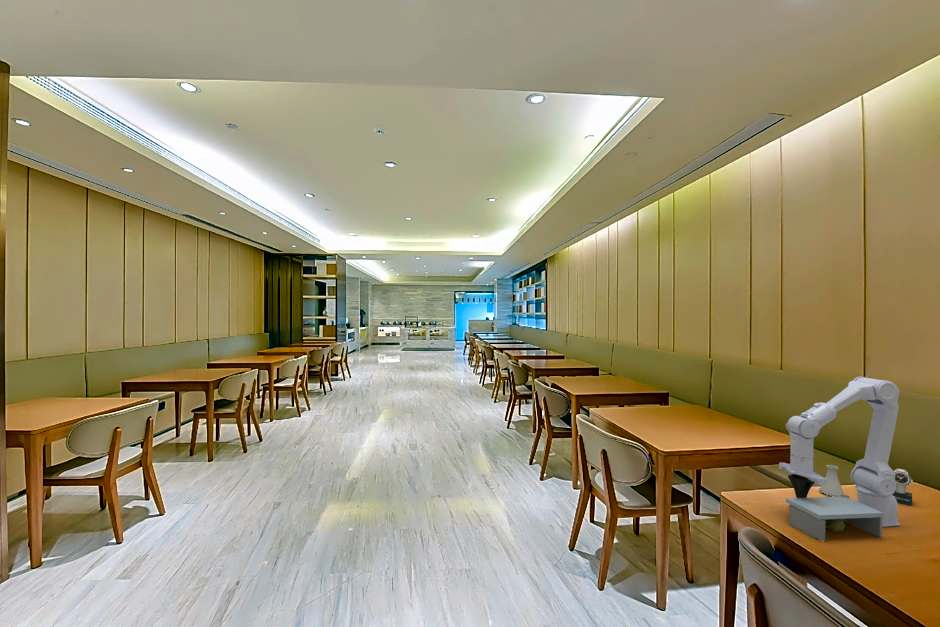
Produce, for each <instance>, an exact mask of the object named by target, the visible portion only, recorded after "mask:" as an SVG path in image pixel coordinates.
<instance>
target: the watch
mask: <svg viewBox="0 0 940 627" xmlns="http://www.w3.org/2000/svg"><path fill="white" fill-rule="evenodd" d="M893 471H894V473H895V482H896V490H895V492H894V493H893V494H892V495H893V496H894V497H895V499H896V501H897V504H900V505H905V506H910V507H912V506H913V493H912V492H907V490H908V489H909V486H910V484H911V483H913V482H914V481H913V479H912V478H911V476H910V475H909V472H908V471H907V470H906V469H902V468H896V469H894V470H893Z"/></svg>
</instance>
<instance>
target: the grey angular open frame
mask: <svg viewBox="0 0 940 627" xmlns="http://www.w3.org/2000/svg"><path fill="white" fill-rule="evenodd" d="M788 505H789V506H788V507H789V508H788V510H789V511H788V525H789V526H791V527H793V528H795V529H797V530H798V531H800V530H801V531H800V532H802V531H803V533H804V532H805V533H804V534H807V535H808V536H810V537H812V538H813V539H815V538H817V539H819V540H821V541H825V542H826V526H825V521H824V520H819V519H818V518H816V517H814V516H812V515H810V514H808V513H806V512H804V511H802V510H800V509H798V508H796V507H794V506H792V505H790V504H788ZM842 520H843V521H846V522H845V523H847V522H848V524H849V523H851V524H853V525H852V526H854V525H855V526H854V527H856V526H857V527H856V528H858V527H859V529H860V528H861V529H860V530H862V529H863V530H862V531H864V532H867V533H869V534H871V535H874V536H876V537H878V538H883V527H882V517H872V518H848V519H842ZM851 524H850V525H851ZM817 539H816V540H817ZM819 540H818V541H819ZM821 541H820V542H821Z"/></svg>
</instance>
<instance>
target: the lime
mask: <svg viewBox="0 0 940 627" xmlns="http://www.w3.org/2000/svg"><path fill="white" fill-rule="evenodd" d="M823 520H824V521H825V528H827V529H828V530H829V531H831V530H832V532H835V531H836V533H839V532H842V531H843V530H845V528H846V524H845V523H846V522H843V520H842V519H823Z"/></svg>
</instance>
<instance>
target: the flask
mask: <svg viewBox="0 0 940 627" xmlns="http://www.w3.org/2000/svg"><path fill="white" fill-rule="evenodd" d="M825 466H826V468H827V472H826V474H825V477H824V478H826V479H827V484H826V485H820V487H821V488H820V487H819V489H820V490H819V489H818V491H819V493H820V494H822V493H824V494H826V495H825V496H827V495H829V496H828V497H831V496H834V497H841V494H843V495H845V493H844V491H843V489H842V486H841V482H840V480H839V477H838V470H839V467H838V466H836V465H834V464H833V465H831V464H826V465H825ZM824 494H823V495H824Z"/></svg>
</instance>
